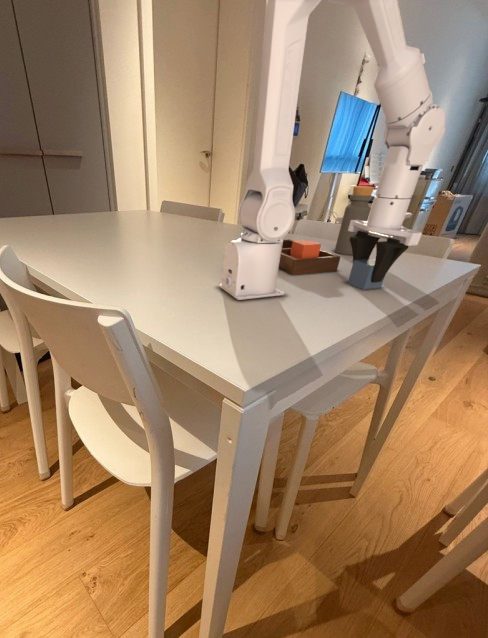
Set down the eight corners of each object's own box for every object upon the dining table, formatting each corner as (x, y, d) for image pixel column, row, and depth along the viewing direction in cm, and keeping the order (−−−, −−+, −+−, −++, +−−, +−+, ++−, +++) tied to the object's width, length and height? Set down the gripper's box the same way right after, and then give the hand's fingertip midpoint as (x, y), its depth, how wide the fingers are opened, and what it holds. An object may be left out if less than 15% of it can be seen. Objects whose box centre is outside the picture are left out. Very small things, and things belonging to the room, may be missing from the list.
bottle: (353, 250, 92) (372, 186, 84) (360, 255, 88) (380, 187, 79) (331, 249, 93) (348, 185, 84) (337, 254, 88) (355, 187, 79)
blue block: (363, 289, 64) (371, 265, 62) (347, 282, 68) (354, 260, 65) (381, 287, 65) (389, 264, 63) (364, 281, 69) (371, 258, 66)
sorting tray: (336, 271, 75) (340, 256, 73) (292, 275, 71) (295, 259, 70) (287, 251, 90) (289, 239, 88) (249, 254, 86) (250, 241, 85)
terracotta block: (299, 266, 74) (304, 245, 72) (288, 261, 78) (292, 241, 75) (316, 265, 76) (321, 244, 73) (304, 260, 79) (309, 240, 76)
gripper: (448, 201, 53) (413, 287, 61) (378, 193, 64) (356, 267, 72) (415, 202, 51) (383, 290, 59) (348, 193, 62) (329, 269, 70)
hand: (366, 278), depth 66 cm, fingers closed on blue block, 4 cm apart
